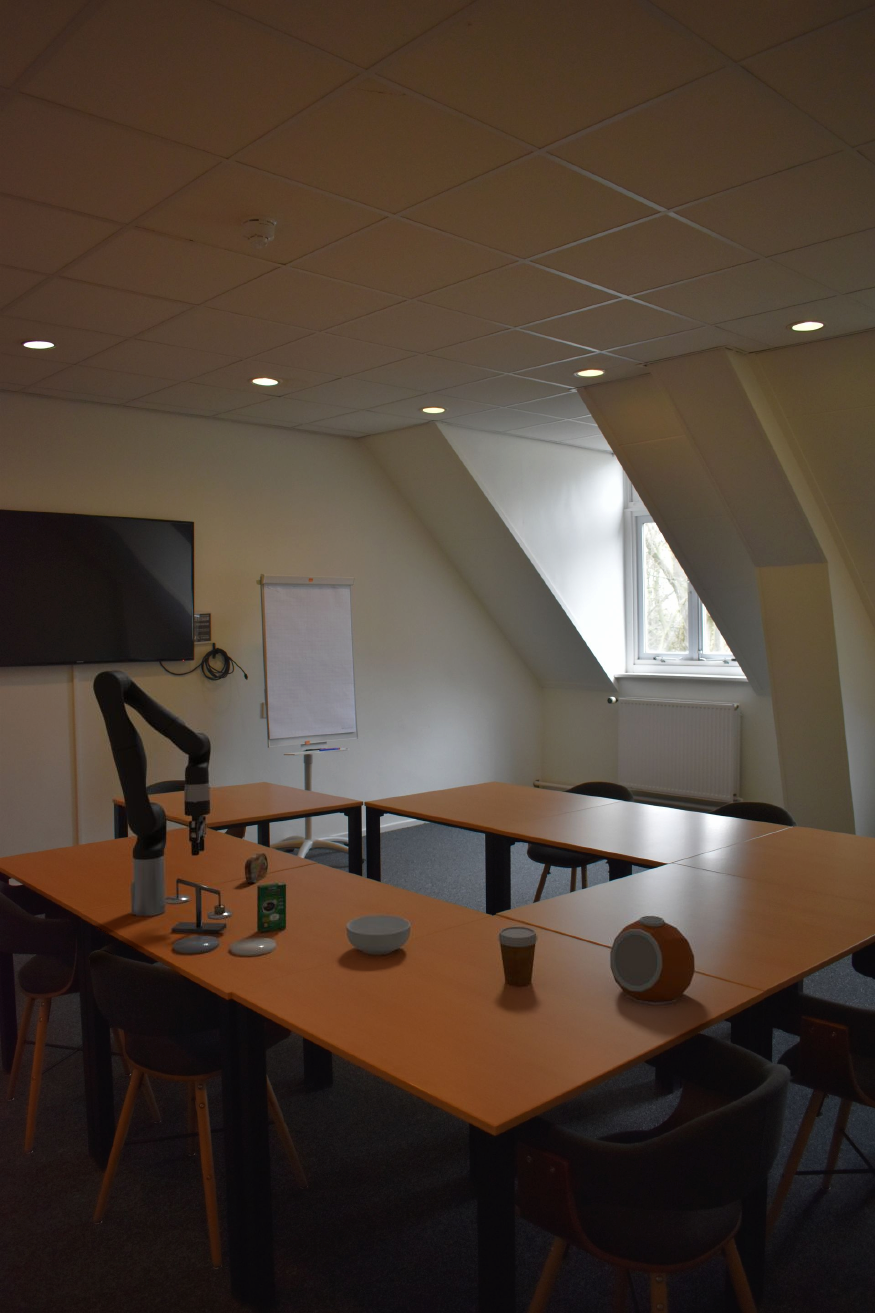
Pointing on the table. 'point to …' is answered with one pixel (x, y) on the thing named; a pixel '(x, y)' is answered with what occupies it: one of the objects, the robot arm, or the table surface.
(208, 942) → the grey dish
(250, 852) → the table surface
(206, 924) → the balance
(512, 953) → the disposable coffee cup
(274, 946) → the white dish
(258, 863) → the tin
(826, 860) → the table surface
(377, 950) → the cereal bowl
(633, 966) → the alarm clock
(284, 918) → the coffee box
